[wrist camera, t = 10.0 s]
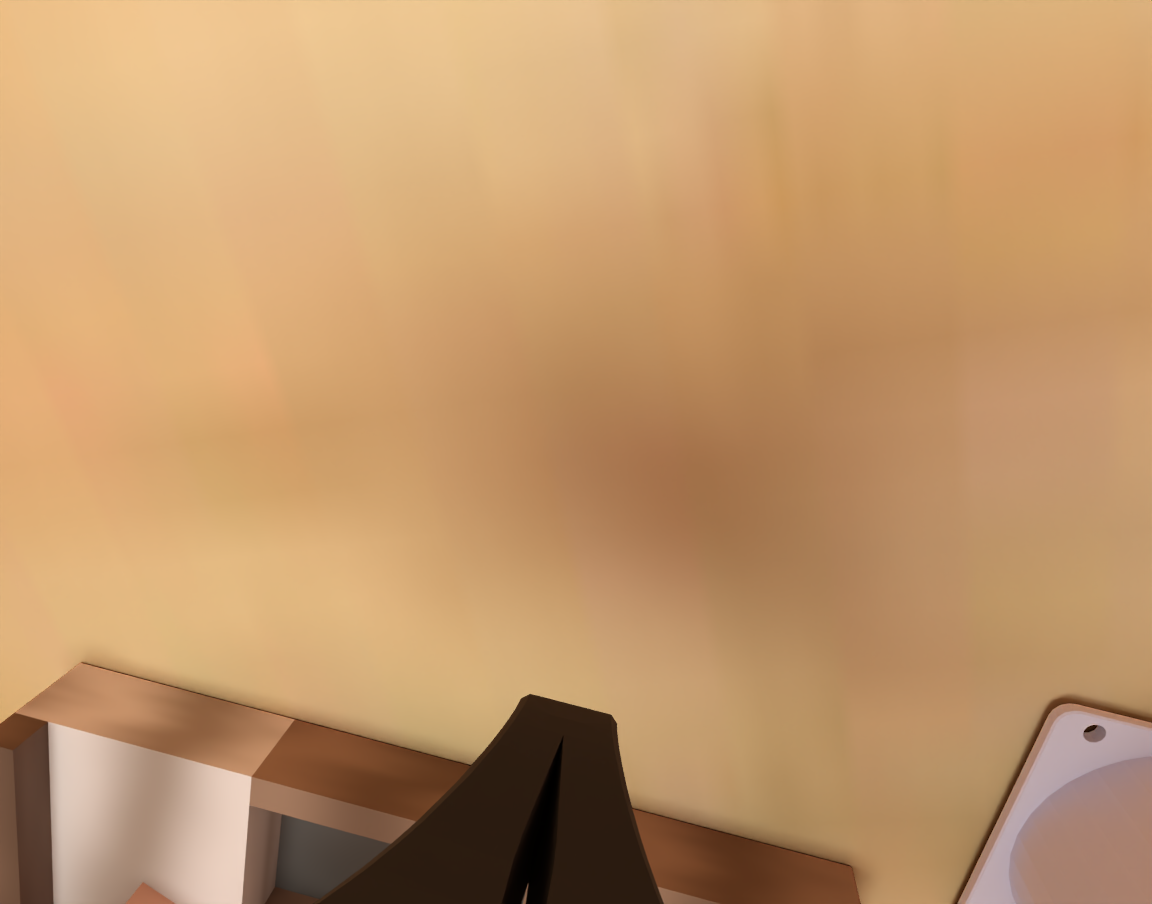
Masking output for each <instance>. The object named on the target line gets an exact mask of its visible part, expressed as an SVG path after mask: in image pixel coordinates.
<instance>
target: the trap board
mask: <svg viewBox="0 0 1152 904" xmlns="http://www.w3.org/2000/svg"><path fill="white" fill-rule="evenodd" d="M469 767H470V766H469V765H465V764H461V763H458V762H454V761H450V760H446V759H442V758H439V757H435V756H431V755H427V754H424V753H420V752H416V751H412V750H408V749H405V748H401V747H397V746H393V745H389V744H386V743H382V742H378V741H374V740H371V739H367V738H363V737H359V736H355V735H352V734H348V733H344V732H340V731H337V730H333V729H329V728H325V727H321V726H318V725H314V724H310V723H306V722H303V721H299V720H295V719H291V718H287V717H284V716H280V715H276V714H272V713H269V712H265V711H261V710H257V709H253V708H250V707H246V706H242V705H238V704H235V703H231V702H227V701H223V700H219V699H216V698H212V697H208V696H204V695H201V694H197V693H193V692H189V691H185V690H182V689H178V688H174V687H170V686H167V685H163V684H159V683H155V682H151V681H148V680H144V679H140V678H136V677H133V676H129V675H125V674H121V673H117V672H114V671H110V670H106V669H102V668H98V667H95V666H91V665H87V664H83V663H79V664H78V665H77V666H75V667H74V668H73V669H72V670H70V671H69V672H68V673H66V674H65V675H64V676H62V677H61V678H60V679H58V680H57V681H56V682H54V683H53V684H52V685H51V686H49V687H48V688H47V689H45V690H44V691H43V692H41V693H40V694H39V695H37V696H36V697H35V698H33V699H32V700H31V701H30V702H28V703H27V704H26V705H24V706H23V707H22V708H20V709H19V710H18V711H16V712H15V713H14V714H12V715H11V716H10V717H9V718H7V719H6V720H5V721H3V722H2V723H1V724H0V904H126V902H127V901H128V900H129V899H130V897H131V896H132V895H133V894H134V892H135V891H136V890H137V889H138V887H139V886H140V885H141V884H142V882H144V883H145V884H147V885H148V886H150V887H151V888H153V889H154V890H156V891H157V892H159V893H160V894H162V895H163V896H165V897H166V898H168V899H169V900H171V901H172V902H174V903H175V904H313V903H314V902H316V901H317V900H319V899H320V898H322V897H323V896H324V895H326V894H327V893H328V892H330V891H331V890H332V889H334V888H335V887H336V886H338V885H339V884H341V883H342V882H343V881H345V880H346V879H347V878H349V877H350V876H351V875H353V874H354V873H355V872H357V871H358V870H359V869H361V868H362V867H363V866H365V865H366V864H367V863H368V862H370V861H371V860H372V859H373V858H374V857H376V856H377V855H378V854H379V853H381V852H382V851H383V850H384V849H385V848H387V847H388V846H389V845H390V844H391V843H393V842H394V841H395V840H396V839H397V838H398V837H400V836H401V835H402V834H403V833H404V832H405V831H406V830H407V829H409V828H410V827H411V826H412V825H413V824H414V823H415V822H416V821H417V820H418V819H420V818H421V817H422V816H423V815H424V814H425V813H426V812H427V811H428V810H429V809H430V808H431V807H432V806H433V805H434V804H435V803H436V802H437V801H438V800H439V799H440V798H441V797H442V796H443V795H444V794H445V793H446V792H447V791H448V790H449V789H450V788H451V787H452V786H453V785H454V784H455V783H456V782H457V781H458V780H459V779H460V778H461V776H462V775H463V774H464V773H465V772H466V771H467V770H468V769H469ZM633 813H634V816H635V819H636V823H637V826H638V830H639V833H640V837H641V840H642V843H643V846H644V849H645V852H646V856H647V859H648V862H649V864H650V867H651V870H652V873H653V875H654V878H655V881H656V884H657V887H658V889H659V892H660V895H661V897H662V900H663V902H664V904H861V903H860V899H859V895H858V891H857V887H856V883H855V879H854V874H853V870H852V867H851V866H847V865H843V864H839V863H835V862H832V861H828V860H824V859H820V858H817V857H813V856H809V855H805V854H801V853H798V852H794V851H790V850H786V849H783V848H779V847H775V846H771V845H767V844H764V843H760V842H756V841H752V840H749V839H745V838H741V837H737V836H733V835H730V834H726V833H722V832H718V831H715V830H711V829H707V828H703V827H699V826H696V825H692V824H688V823H684V822H680V821H677V820H673V819H669V818H665V817H662V816H658V815H654V814H650V813H646V812H643V811H639V810H635V809H633ZM527 890H528V886H527V889H526V892H525V895H524V898H523V901H522V904H526V897H527Z"/></svg>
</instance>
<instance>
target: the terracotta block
mask: <svg viewBox="0 0 1152 904" xmlns="http://www.w3.org/2000/svg"><path fill="white" fill-rule="evenodd" d="M126 904H175V903H174V902H172V901H171V900H169V899H168V898H166V897H165V896H163V895H162V894H160V893H159V892H157V891H156V890H154V889H153V888H151V887H150V886H148V885H147V884H145V883H144V882H142V884H141V885H140V886H139V887H138V889H137V890H136V891H135V892H134V894H133V895H132V896H131V897H130V899H129V900H128V901H127V902H126Z"/></svg>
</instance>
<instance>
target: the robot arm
mask: <svg viewBox="0 0 1152 904" xmlns="http://www.w3.org/2000/svg"><path fill="white" fill-rule="evenodd" d="M1091 725H1098V726H1097V728H1096V729H1095V730H1093V731H1091V732H1084V730H1085V729H1086V728H1087V727H1089V726H1091ZM527 886H528V890H527V897H526V904H664V902H663V900H662V897H661V895H660V892H659V889H658V887H657V884H656V881H655V878H654V875H653V873H652V870H651V867H650V864H649V862H648V859H647V856H646V852H645V849H644V846H643V843H642V840H641V837H640V833H639V830H638V826H637V823H636V819H635V816H634V813H633V809H632V806H631V802H630V798H629V794H628V790H627V786H626V781H625V777H624V772H623V767H622V762H621V757H620V751H619V744H618V735H617V723H616V721H615V720H614V718H613V717H612V715H610V714H606V713H602V712H598V711H594V710H590V709H587V708H583V707H579V706H575V705H571V704H567V703H563V702H559V701H555V700H552V699H548V698H544V697H540V696H536V695H532V694H529V695H527V696H525V697H523V698H521V700H520V702H519V704H518V705H517V707H516V709H515V710H514V712H513V713H512V715H511V717H510V718H509V720H508V721H507V722H506V724H505V725H504V726H503V728H502V729H501V731H500V732H499V733H498V734H497V736H496V737H495V738H494V739H493V741H492V742H491V743H490V744H489V746H488V747H487V748H486V749H485V751H484V752H483V753H482V754H481V755H480V756H479V757H478V758H477V760H476V761H475V762H474V763H473V764H472V765H471V766H470V767H469V769H468V770H467V771H466V772H465V773H464V774H463V775H462V776H461V778H460V779H459V780H458V781H457V782H456V783H455V784H454V785H453V786H452V787H451V788H450V789H449V790H448V791H447V792H446V793H445V794H444V795H443V796H442V797H441V798H440V799H439V800H438V801H437V802H436V803H435V804H434V805H433V806H432V807H431V808H430V809H429V810H428V811H427V812H426V813H425V814H424V815H423V816H422V817H421V818H420V819H418V820H417V821H416V822H415V823H414V824H413V825H412V826H411V827H410V828H409V829H407V830H406V831H405V832H404V833H403V834H402V835H401V836H400V837H398V838H397V839H396V840H395V841H394V842H393V843H391V844H390V845H389V846H388V847H387V848H385V849H384V850H383V851H382V852H381V853H379V854H378V855H377V856H376V857H374V858H373V859H372V860H371V861H370V862H368V863H367V864H366V865H365V866H363V867H362V868H361V869H359V870H358V871H357V872H355V873H354V874H353V875H351V876H350V877H349V878H347V879H346V880H345V881H343V882H342V883H341V884H339V885H338V886H336V887H335V888H334V889H332V890H331V891H330V892H328V893H327V894H326V895H324V896H323V897H322V898H320V899H319V900H317V901H316V902H314V903H313V904H522V901H523V898H524V895H525V892H526V889H527ZM958 904H1152V723H1151V722H1147V721H1143V720H1139V719H1135V718H1131V717H1127V716H1123V715H1119V714H1115V713H1110V712H1106V711H1102V710H1098V709H1094V708H1090V707H1086V706H1082V705H1078V704H1070V703H1067V704H1063V705H1059V706H1058V707H1056V708H1054V709H1053V710H1052V711H1051V712H1050V714H1049V715H1048V717H1047V719H1046V721H1045V723H1044V725H1043V727H1042V729H1041V731H1040V734H1039V736H1038V738H1037V740H1036V742H1035V744H1034V746H1033V748H1032V750H1031V752H1030V754H1029V756H1028V758H1027V761H1026V763H1025V765H1024V767H1023V769H1022V771H1021V773H1020V775H1019V777H1018V779H1017V781H1016V783H1015V785H1014V787H1013V790H1012V792H1011V794H1010V796H1009V798H1008V800H1007V802H1006V804H1005V806H1004V808H1003V810H1002V812H1001V814H1000V816H999V819H998V821H997V823H996V825H995V827H994V829H993V831H992V833H991V835H990V837H989V839H988V841H987V843H986V846H985V848H984V850H983V852H982V854H981V856H980V858H979V860H978V862H977V864H976V866H975V868H974V870H973V872H972V875H971V877H970V879H969V881H968V883H967V885H966V887H965V889H964V891H963V893H962V895H961V897H960V899H959V901H958Z"/></svg>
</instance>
